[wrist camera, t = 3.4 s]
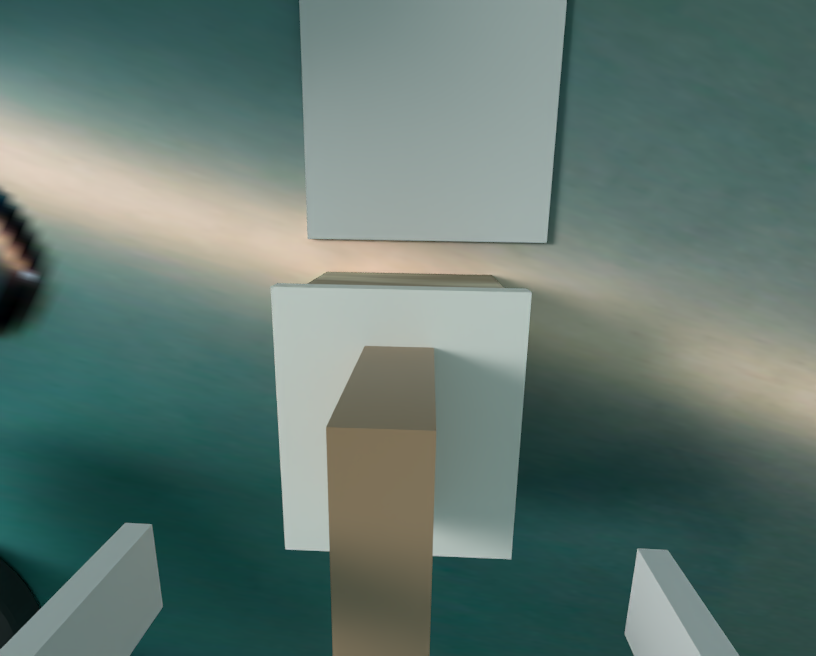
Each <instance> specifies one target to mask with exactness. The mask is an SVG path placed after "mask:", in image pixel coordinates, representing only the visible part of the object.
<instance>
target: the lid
mask: <svg viewBox="0 0 816 656" xmlns="http://www.w3.org/2000/svg"><path fill="white" fill-rule="evenodd" d="M531 297H532V292H531V291H530V290H528V289H525V288H478V287H430V286H383V285H336V284H289V283H277V284H275V285H273V286H271V302H272V320H273V338H274V356H275V375H276V393H277V411H278V429H279V447H280V465H281V483H282V501H283V519H284V537H285V549H286V550H309V551H330V580H331V614H332V648H333V656H429V651H430V619H431V587H432V556H448V557H471V558H494V559H511V554H512V541H513V528H514V516H515V503H516V490H517V477H518V464H519V451H520V438H521V426H522V413H523V400H524V387H525V374H526V361H527V348H528V336H529V323H530V310H531Z"/></svg>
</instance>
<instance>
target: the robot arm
mask: <svg viewBox="0 0 816 656" xmlns="http://www.w3.org/2000/svg"><path fill="white" fill-rule="evenodd" d="M162 608H163V603H162V595H161V588H160V580H159V573H158V565H157V558H156V550H155V543H154V535H153V528H152V524H138V523H125V524H124V525H123V526H122V527H121V528H120V529H119V530H118V531H117V532H116V533H115V534H114V535H113V536H112V537H111V538H110V539H109V540H108V541H107V542H106V543H105V544H104V545H103V546H102V547H101V548H100V549H99V550H98V551H97V552H96V553H95V554H94V555H93V556H92V557H91V558H90V559H89V560H88V561H87V562H86V563H85V564H84V565H83V566H82V567H81V568H80V569H79V570H78V571H77V572H76V573H75V574H74V575H73V576H72V577H71V578H70V579H69V580H68V581H67V582H66V583H65V584H64V585H63V586H62V587H61V588H60V589H59V590H58V591H57V592H56V593H55V594H54V595H53V597H52V598H51V599H50V600H49V601H48V602H47V603H46V604H45V605H44V606H43V607H42V608H41V609H40V610H39V607H38V605H37V603H36V601H35V599H34V597H33V595H32V593H31V592H30V590H29V589H28V587H27V586H26V584H25V583H24V582H23V581H22V579H21V578H20V577H19V576H18V575H17V574H16V573H15V572H14V571H13V570H12V569H11V568H10V567H9V566H8V565H7V564H6V563H4V562H3V561H2V560H1V559H0V656H130V654H131V653H132V651H133V650H134V648H135V647H136V646H137V644H138V643H139V641H140V640H141V638H142V637H143V635H144V634H145V632H146V631H147V629H148V628H149V627H150V625H151V624H152V622H153V621H154V619H155V618H156V616H157V615H158V613H159V612H160V610H161V609H162ZM625 636H626V638H627V641H628V643H629V645H630V647H631V650H632V652H633V654H634V656H739V655H738V653H737V652H736V650H735V649H734V647H733V646H732V644H731V643H730V641H729V640H728V638H727V637H726V635H725V634H724V632H723V631H722V630H721V628H720V627H719V625H718V624H717V622H716V621H715V619H714V618H713V616H712V615H711V613H710V612H709V610H708V609H707V607H706V606H705V604H704V603H703V602H702V600H701V599H700V597H699V596H698V594H697V593H696V591H695V590H694V588H693V587H692V585H691V584H690V582H689V581H688V579H687V578H686V576H685V575H684V573H683V572H682V571H681V569H680V568H679V566H678V565H677V563H676V562H675V560H674V559H673V557H672V556H671V554H670V553H669V551H668V550H658V549H637V556H636V562H635V569H634V575H633V582H632V588H631V595H630V602H629V608H628V615H627V621H626V628H625Z"/></svg>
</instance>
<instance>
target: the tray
mask: <svg viewBox="0 0 816 656" xmlns="http://www.w3.org/2000/svg"><path fill="white" fill-rule="evenodd" d="M566 5H567V0H299V7H300V35H301V63H302V91H303V119H304V147H305V175H306V203H307V231H308V239H355V240H412V241H470V242H527V243H547V233H548V221H549V209H550V197H551V185H552V173H553V161H554V149H555V137H556V125H557V113H558V101H559V89H560V77H561V65H562V53H563V41H564V29H565V17H566Z"/></svg>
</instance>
